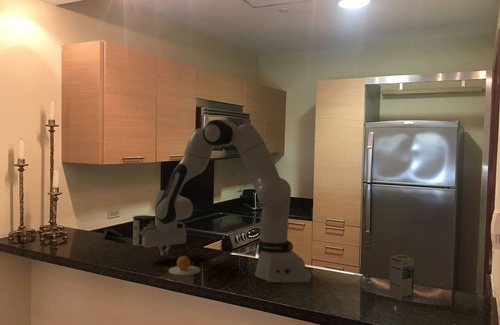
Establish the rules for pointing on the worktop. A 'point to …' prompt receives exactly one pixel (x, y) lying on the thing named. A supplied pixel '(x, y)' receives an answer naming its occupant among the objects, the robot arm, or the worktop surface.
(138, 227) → the coffee can
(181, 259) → the ball
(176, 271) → the disc
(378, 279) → the worktop surface
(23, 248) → the worktop surface
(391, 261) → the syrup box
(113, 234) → the can opener
